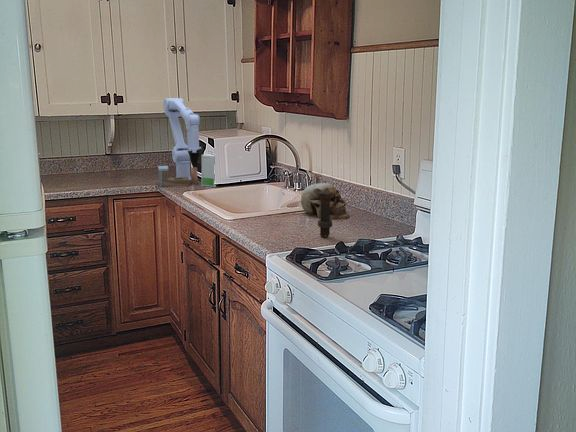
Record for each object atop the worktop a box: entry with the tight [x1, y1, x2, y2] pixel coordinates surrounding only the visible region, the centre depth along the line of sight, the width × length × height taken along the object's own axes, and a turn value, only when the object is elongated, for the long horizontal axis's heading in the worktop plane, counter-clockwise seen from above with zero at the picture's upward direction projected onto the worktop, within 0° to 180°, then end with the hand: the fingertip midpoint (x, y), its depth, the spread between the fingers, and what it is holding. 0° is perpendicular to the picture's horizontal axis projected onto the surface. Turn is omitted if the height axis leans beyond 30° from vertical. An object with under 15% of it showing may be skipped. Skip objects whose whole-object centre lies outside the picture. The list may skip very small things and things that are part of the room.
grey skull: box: [300, 182, 350, 220], centre depth 230 cm, size 16×17×13 cm
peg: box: [190, 166, 198, 185], centre depth 306 cm, size 3×3×8 cm
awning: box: [157, 165, 169, 188], centre depth 299 cm, size 11×5×9 cm, turn 12°
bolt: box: [317, 191, 334, 239], centre depth 196 cm, size 6×5×15 cm
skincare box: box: [201, 153, 217, 188], centre depth 297 cm, size 8×7×16 cm
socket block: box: [162, 176, 190, 188], centre depth 301 cm, size 10×13×3 cm
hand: (194, 165), depth 305 cm, fingers open, 7 cm apart
